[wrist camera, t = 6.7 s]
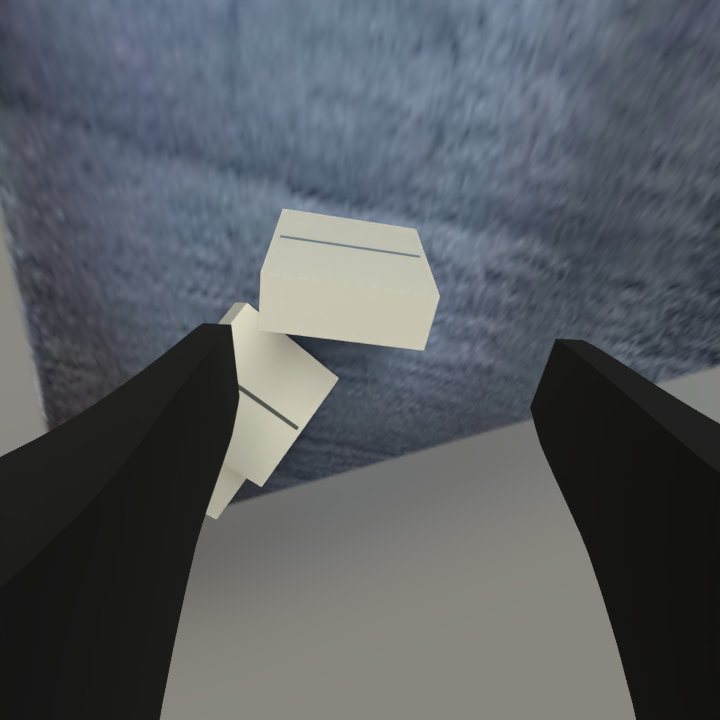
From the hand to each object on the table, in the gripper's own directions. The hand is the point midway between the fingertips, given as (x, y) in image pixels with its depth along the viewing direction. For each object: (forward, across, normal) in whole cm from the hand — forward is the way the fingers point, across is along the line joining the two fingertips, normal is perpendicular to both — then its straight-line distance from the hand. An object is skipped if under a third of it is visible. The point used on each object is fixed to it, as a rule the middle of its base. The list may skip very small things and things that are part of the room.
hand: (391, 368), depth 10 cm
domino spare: (+8, +1, 0) cm, 8 cm away
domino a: (+7, +3, +4) cm, 9 cm away
